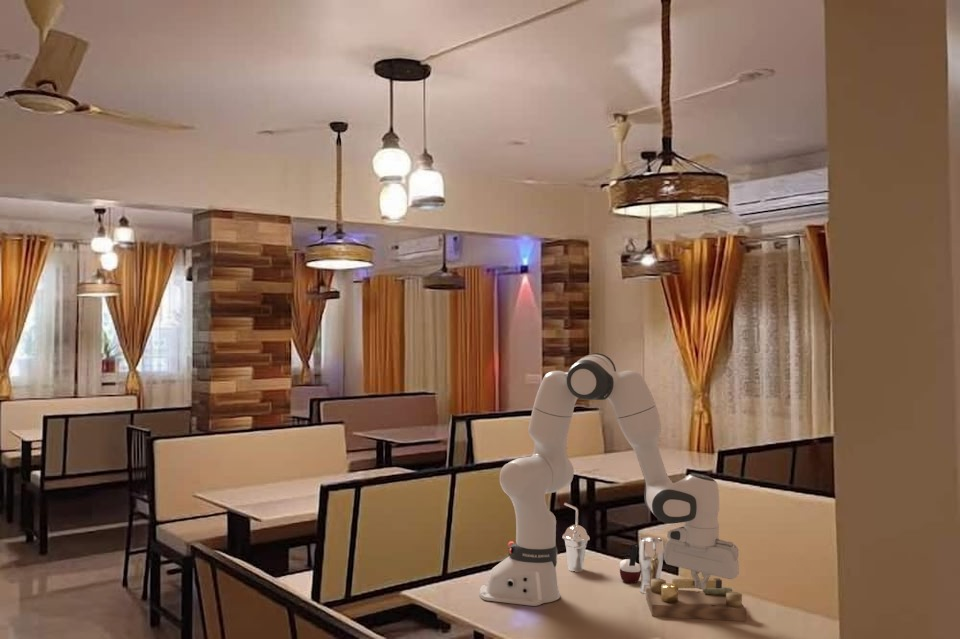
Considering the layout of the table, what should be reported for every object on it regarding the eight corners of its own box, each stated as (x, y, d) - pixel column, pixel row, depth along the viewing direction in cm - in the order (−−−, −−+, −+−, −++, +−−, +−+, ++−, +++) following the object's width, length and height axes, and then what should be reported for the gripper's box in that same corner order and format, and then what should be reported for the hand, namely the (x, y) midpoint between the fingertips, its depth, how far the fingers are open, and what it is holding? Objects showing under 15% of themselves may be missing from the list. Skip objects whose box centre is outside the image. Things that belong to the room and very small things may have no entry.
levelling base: (652, 616, 215) (652, 593, 215) (646, 599, 229) (646, 577, 229) (745, 621, 213) (746, 597, 213) (734, 603, 227) (734, 581, 227)
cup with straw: (567, 574, 251) (568, 508, 251) (557, 566, 260) (558, 502, 260) (593, 572, 253) (594, 507, 254) (582, 564, 262) (583, 501, 262)
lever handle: (664, 602, 216) (664, 582, 216) (658, 596, 221) (659, 577, 221) (723, 601, 218) (723, 581, 218) (717, 596, 222) (717, 576, 222)
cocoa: (621, 577, 250) (621, 537, 251) (642, 579, 248) (642, 539, 249) (617, 585, 241) (616, 543, 242) (638, 586, 239) (638, 545, 240)
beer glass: (662, 596, 232) (664, 543, 232) (637, 594, 233) (638, 541, 233) (662, 589, 238) (663, 537, 239) (638, 587, 240) (639, 535, 240)
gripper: (743, 541, 213) (742, 595, 212) (673, 527, 227) (672, 577, 226) (732, 545, 208) (731, 600, 208) (661, 530, 222) (660, 582, 222)
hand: (700, 588), depth 217 cm, fingers closed
